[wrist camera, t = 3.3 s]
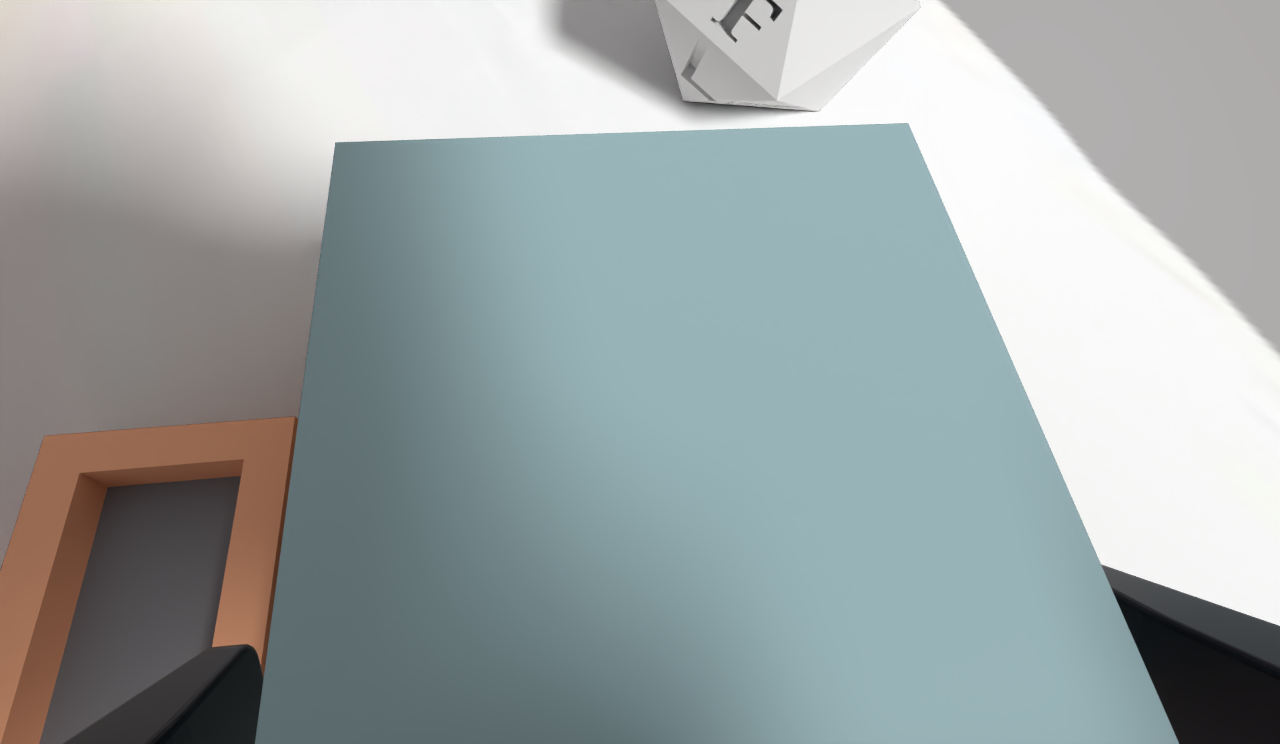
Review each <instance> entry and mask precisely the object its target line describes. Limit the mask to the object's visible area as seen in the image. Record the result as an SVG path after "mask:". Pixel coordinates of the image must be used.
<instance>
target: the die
mask: <svg viewBox="0 0 1280 744" xmlns="http://www.w3.org/2000/svg"><path fill="white" fill-rule="evenodd" d="M654 1H655V4H656V8H657V11H658V15H659V18H660V22H661V25H662V29H663V32H664V36H665V39H666V43H667V46H668V50H669V53H670V57H671V60H672V64H673V67H674V71H675V74H676V78H677V81H678V85H679V88H680V92H681V95H682V99H683V101H689V102H702V103H715V104H728V105H741V106H755V107H768V108H781V109H794V110H807V111H820V110H821V109H822V108H823V107H824V106H825V105H826V104H827V103H828V102H829V101H830V100H831V99H832V98H833V97H834V96H835V95H836V94H837V93H838V92H839V91H840V90H841V89H842V88H843V87H844V86H845V85H846V84H847V83H848V82H849V81H850V80H851V78H852V77H853V76H854V75H855V74H856V73H857V72H858V71H859V70H860V69H861V68H862V67H863V66H864V65H865V64H866V63H867V62H868V61H869V60H870V59H871V58H872V57H873V56H874V55H875V54H876V53H877V52H878V51H879V50H880V49H881V48H882V47H883V46H884V45H885V44H886V42H887V41H888V40H889V39H890V38H891V37H892V36H893V35H894V34H895V33H896V32H897V31H898V30H899V29H900V28H901V27H902V26H903V25H904V24H905V23H906V22H907V21H908V20H909V19H910V18H911V17H912V16H913V15H914V14H915V13H916V12H917V11H918V10H919V9H920V8H921V7H920V2H919V0H654Z"/></svg>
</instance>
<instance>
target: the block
mask: <svg viewBox="0 0 1280 744" xmlns="http://www.w3.org/2000/svg"><path fill="white" fill-rule="evenodd" d="M255 744H1179V742H1178V740H1177V738H1176V735H1175V733H1174V731H1173V728H1172V726H1171V724H1170V722H1169V719H1168V717H1167V715H1166V712H1165V710H1164V708H1163V706H1162V703H1161V701H1160V699H1159V696H1158V694H1157V692H1156V689H1155V687H1154V685H1153V683H1152V680H1151V678H1150V676H1149V673H1148V671H1147V669H1146V667H1145V664H1144V662H1143V660H1142V657H1141V655H1140V653H1139V651H1138V648H1137V646H1136V644H1135V641H1134V639H1133V637H1132V635H1131V632H1130V630H1129V628H1128V625H1127V623H1126V621H1125V619H1124V616H1123V614H1122V612H1121V609H1120V607H1119V605H1118V603H1117V600H1116V598H1115V596H1114V593H1113V591H1112V589H1111V587H1110V584H1109V582H1108V580H1107V577H1106V575H1105V573H1104V570H1103V568H1102V566H1101V564H1100V561H1099V559H1098V557H1097V554H1096V552H1095V550H1094V548H1093V545H1092V543H1091V541H1090V538H1089V536H1088V534H1087V532H1086V529H1085V527H1084V525H1083V522H1082V520H1081V518H1080V516H1079V513H1078V511H1077V509H1076V506H1075V504H1074V502H1073V500H1072V497H1071V495H1070V493H1069V490H1068V488H1067V486H1066V484H1065V481H1064V479H1063V477H1062V474H1061V472H1060V470H1059V468H1058V465H1057V463H1056V461H1055V458H1054V456H1053V454H1052V451H1051V449H1050V447H1049V445H1048V442H1047V440H1046V438H1045V435H1044V433H1043V431H1042V429H1041V426H1040V424H1039V422H1038V419H1037V417H1036V415H1035V413H1034V410H1033V408H1032V406H1031V403H1030V401H1029V399H1028V397H1027V394H1026V392H1025V390H1024V387H1023V385H1022V383H1021V381H1020V378H1019V376H1018V374H1017V371H1016V369H1015V367H1014V365H1013V362H1012V360H1011V358H1010V355H1009V353H1008V351H1007V349H1006V346H1005V344H1004V342H1003V339H1002V337H1001V335H1000V333H999V330H998V328H997V326H996V323H995V321H994V319H993V316H992V314H991V312H990V310H989V307H988V305H987V303H986V300H985V298H984V296H983V294H982V291H981V289H980V287H979V284H978V282H977V280H976V278H975V275H974V273H973V271H972V268H971V266H970V264H969V262H968V259H967V257H966V255H965V252H964V250H963V248H962V246H961V243H960V241H959V239H958V236H957V234H956V232H955V230H954V227H953V225H952V223H951V220H950V218H949V216H948V214H947V211H946V209H945V207H944V204H943V202H942V200H941V197H940V195H939V193H938V191H937V188H936V186H935V184H934V181H933V179H932V177H931V175H930V172H929V170H928V168H927V165H926V163H925V161H924V159H923V156H922V154H921V152H920V149H919V147H918V145H917V143H916V140H915V138H914V136H913V133H912V131H911V129H910V127H909V124H908V123H899V124H869V125H840V126H810V127H781V128H751V129H722V130H692V131H663V132H633V133H604V134H574V135H545V136H515V137H485V138H456V139H426V140H397V141H367V142H338V143H335V150H334V157H333V165H332V172H331V180H330V187H329V195H328V202H327V210H326V217H325V224H324V232H323V239H322V247H321V254H320V262H319V269H318V277H317V284H316V292H315V299H314V307H313V314H312V321H311V329H310V336H309V344H308V351H307V359H306V366H305V374H304V381H303V389H302V396H301V404H300V411H299V418H298V426H297V433H296V441H295V448H294V456H293V463H292V471H291V478H290V486H289V493H288V501H287V508H286V515H285V523H284V530H283V538H282V545H281V553H280V560H279V568H278V575H277V583H276V590H275V598H274V605H273V612H272V620H271V627H270V635H269V642H268V650H267V657H266V665H265V672H264V680H263V687H262V695H261V702H260V709H259V717H258V724H257V732H256V739H255Z"/></svg>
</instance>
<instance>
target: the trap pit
mask: <svg viewBox="0 0 1280 744" xmlns="http://www.w3.org/2000/svg"><path fill="white" fill-rule="evenodd" d="M297 426H298V419H297V418H296V417H295V416H293V417H280V418H267V419H254V420H241V421H228V422H215V423H202V424H190V425H177V426H164V427H151V428H138V429H125V430H112V431H99V432H86V433H73V434H60V435H47V436H44V439H43V442H42V445H41V448H40V451H39V454H38V457H37V460H36V463H35V466H34V469H33V472H32V475H31V478H30V481H29V485H28V488H27V491H26V494H25V497H24V500H23V503H22V506H21V509H20V512H19V515H18V518H17V521H16V524H15V527H14V531H13V534H12V537H11V540H10V543H9V546H8V549H7V552H6V555H5V558H4V561H3V564H2V567H1V570H0V744H62V743H63V742H65V741H66V740H68V739H70V738H71V737H73V736H74V735H76V734H77V733H79V732H80V731H82V730H83V729H85V728H86V727H88V726H89V725H91V724H93V723H94V722H96V721H97V720H99V719H100V718H102V717H103V716H105V715H106V714H108V713H109V712H111V711H112V710H114V709H116V708H117V707H119V706H120V705H122V704H123V703H125V702H126V701H128V700H129V699H131V698H132V697H134V696H135V695H137V694H138V693H140V692H142V691H143V690H145V689H146V688H148V687H149V686H151V685H152V684H154V683H155V682H157V681H158V680H160V679H161V678H163V677H165V676H166V675H168V674H169V673H171V672H172V671H174V670H175V669H177V668H178V667H180V666H181V665H183V664H184V663H186V662H188V661H189V660H191V659H192V658H194V657H195V656H197V655H198V654H200V653H201V652H203V651H205V650H206V649H209V648H212V647H218V646H229V645H239V644H248V645H250V646H252V647H254V648H255V650H256V651H257V654H258V657H259V660H260V665H261V669H262V673H263V677H264V672H265V665H266V657H267V650H268V642H269V635H270V627H271V620H272V612H273V605H274V598H275V590H276V583H277V575H278V568H279V560H280V553H281V545H282V538H283V530H284V523H285V515H286V508H287V501H288V493H289V486H290V478H291V471H292V463H293V456H294V448H295V441H296V433H297Z"/></svg>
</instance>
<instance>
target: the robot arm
mask: <svg viewBox="0 0 1280 744" xmlns="http://www.w3.org/2000/svg"><path fill="white" fill-rule="evenodd" d="M1101 566H1102V568H1103V570H1104V573H1105V575H1106V577H1107V580H1108V582H1109V584H1110V587H1111V589H1112V591H1113V593H1114V596H1115V598H1116V600H1117V603H1118V605H1119V607H1120V609H1121V612H1122V614H1123V616H1124V619H1125V621H1126V623H1127V625H1128V628H1129V630H1130V632H1131V635H1132V637H1133V639H1134V641H1135V644H1136V646H1137V648H1138V651H1139V653H1140V655H1141V657H1142V660H1143V662H1144V664H1145V667H1146V669H1147V671H1148V673H1149V676H1150V678H1151V680H1152V683H1153V685H1154V687H1155V689H1156V692H1157V694H1158V696H1159V699H1160V701H1161V703H1162V706H1163V708H1164V710H1165V712H1166V715H1167V717H1168V719H1169V722H1170V724H1171V726H1172V728H1173V731H1174V733H1175V735H1176V738H1177V740H1178V742H1179V744H1280V626H1278V625H1275V624H1272V623H1270V622H1267V621H1264V620H1261V619H1258V618H1255V617H1252V616H1249V615H1246V614H1243V613H1241V612H1238V611H1235V610H1232V609H1229V608H1226V607H1223V606H1220V605H1217V604H1214V603H1212V602H1209V601H1206V600H1203V599H1200V598H1197V597H1194V596H1191V595H1188V594H1185V593H1182V592H1180V591H1177V590H1174V589H1171V588H1168V587H1165V586H1162V585H1159V584H1156V583H1153V582H1151V581H1148V580H1145V579H1142V578H1139V577H1136V576H1133V575H1130V574H1127V573H1124V572H1121V571H1119V570H1116V569H1113V568H1110V567H1107V566H1104V565H1101ZM263 680H264V677H263V673H262V669H261V665H260V660H259V657H258V654H257V651H256V650H255V648H254V647H252V646H250V645H248V644H239V645H229V646H218V647H212V648H209V649H206V650H205V651H203V652H201V653H200V654H198V655H197V656H195V657H194V658H192V659H191V660H189V661H188V662H186V663H184V664H183V665H181V666H180V667H178V668H177V669H175V670H174V671H172V672H171V673H169V674H168V675H166V676H165V677H163V678H161V679H160V680H158V681H157V682H155V683H154V684H152V685H151V686H149V687H148V688H146V689H145V690H143V691H142V692H140V693H138V694H137V695H135V696H134V697H132V698H131V699H129V700H128V701H126V702H125V703H123V704H122V705H120V706H119V707H117V708H116V709H114V710H112V711H111V712H109V713H108V714H106V715H105V716H103V717H102V718H100V719H99V720H97V721H96V722H94V723H93V724H91V725H89V726H88V727H86V728H85V729H83V730H82V731H80V732H79V733H77V734H76V735H74V736H73V737H71V738H70V739H68V740H66V741H65V742H63V743H62V744H255V739H256V732H257V724H258V717H259V709H260V702H261V695H262V687H263Z"/></svg>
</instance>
